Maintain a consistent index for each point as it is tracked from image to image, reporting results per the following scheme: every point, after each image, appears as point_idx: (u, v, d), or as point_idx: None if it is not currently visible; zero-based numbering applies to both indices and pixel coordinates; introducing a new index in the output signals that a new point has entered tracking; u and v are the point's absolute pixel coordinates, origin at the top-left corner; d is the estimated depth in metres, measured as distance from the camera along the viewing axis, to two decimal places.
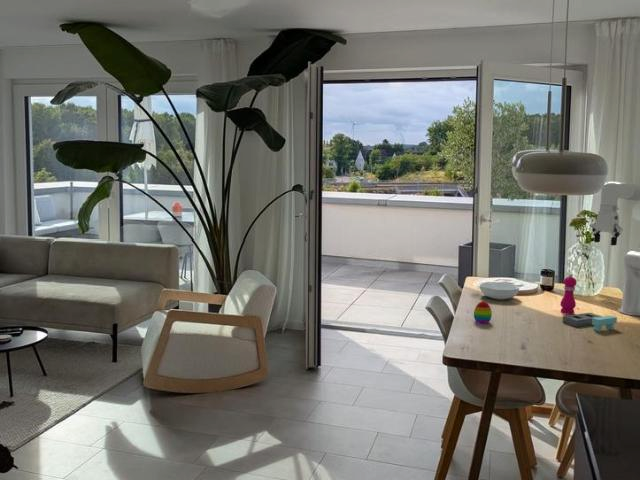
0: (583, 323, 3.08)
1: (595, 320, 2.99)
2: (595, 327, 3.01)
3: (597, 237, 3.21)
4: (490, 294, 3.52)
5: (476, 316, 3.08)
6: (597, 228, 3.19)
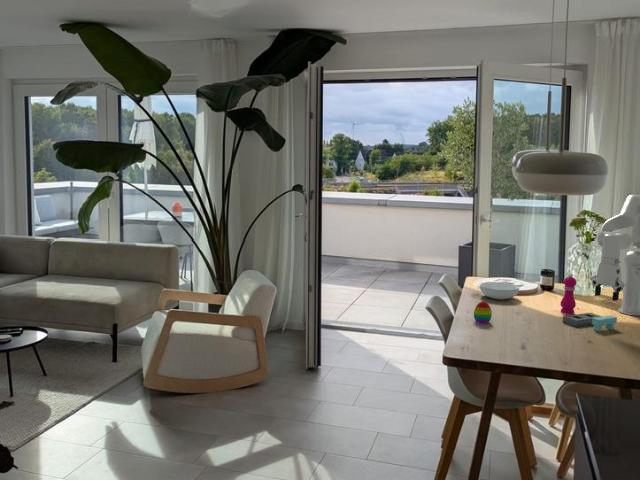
0: (583, 323, 3.08)
1: (595, 320, 2.99)
2: (595, 327, 3.01)
3: (598, 290, 3.04)
4: (490, 294, 3.52)
5: (476, 316, 3.08)
6: (598, 281, 3.01)
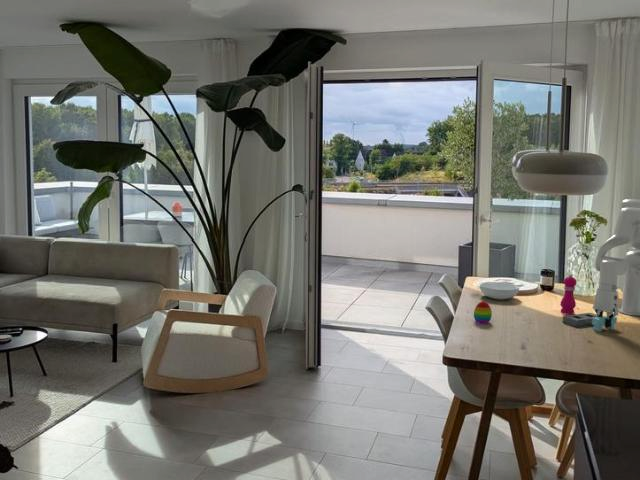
0: (583, 323, 3.08)
1: (595, 320, 2.99)
2: (595, 327, 3.01)
3: None
4: (490, 294, 3.52)
5: (476, 316, 3.08)
6: (596, 306, 3.03)
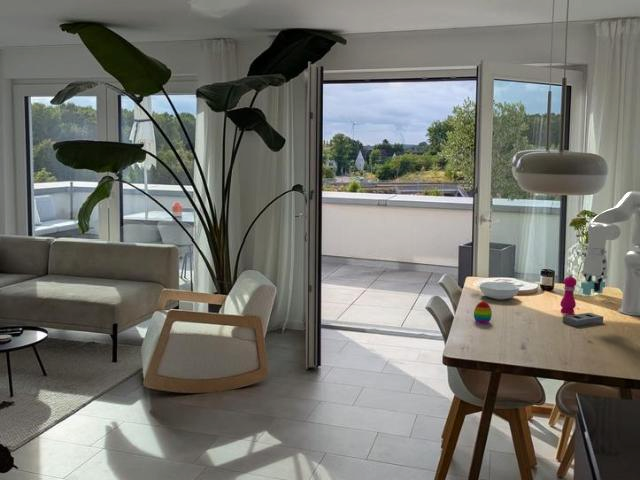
0: (583, 323, 3.08)
1: (584, 284, 3.04)
2: (585, 291, 3.05)
3: None
4: (490, 294, 3.52)
5: (476, 316, 3.08)
6: (585, 271, 3.08)
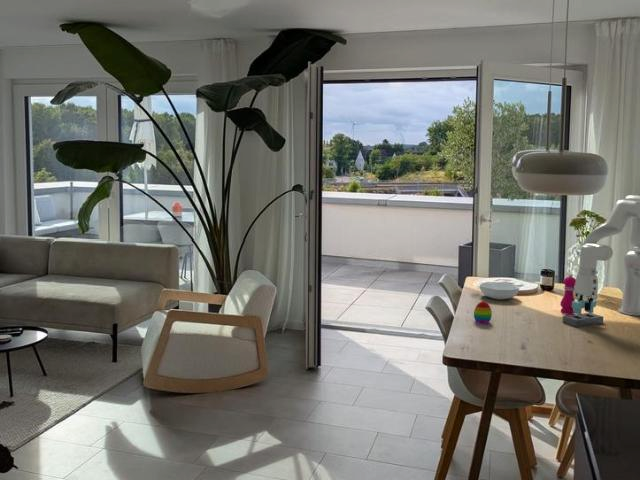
0: (583, 323, 3.08)
1: (575, 303, 3.09)
2: (575, 310, 3.10)
3: None
4: (490, 294, 3.52)
5: (476, 316, 3.08)
6: (576, 291, 3.13)
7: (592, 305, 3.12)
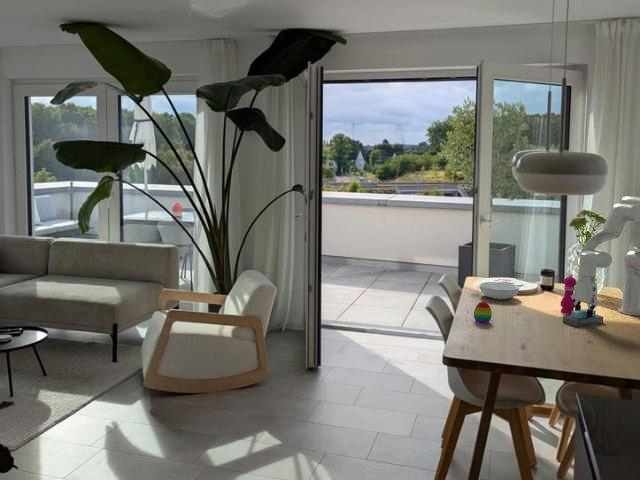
0: (583, 323, 3.08)
1: (574, 313, 3.10)
2: None
3: (577, 309, 3.15)
4: (490, 294, 3.52)
5: (476, 316, 3.08)
6: (575, 298, 3.14)
7: None
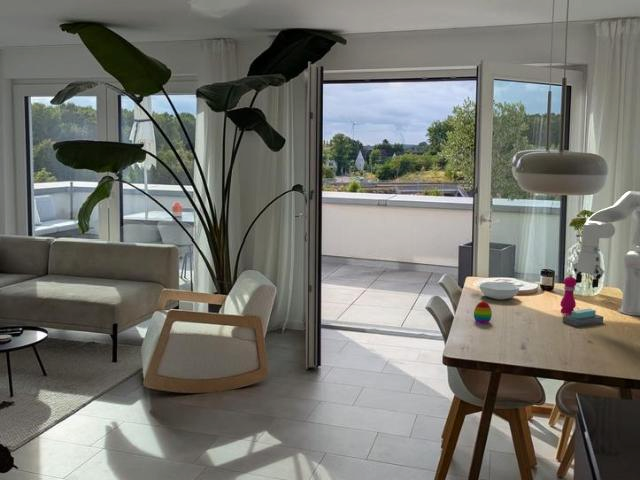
0: (583, 323, 3.08)
1: (574, 313, 3.10)
2: None
3: (579, 278, 3.14)
4: (490, 294, 3.52)
5: (476, 316, 3.08)
6: (578, 269, 3.12)
7: (591, 314, 3.13)
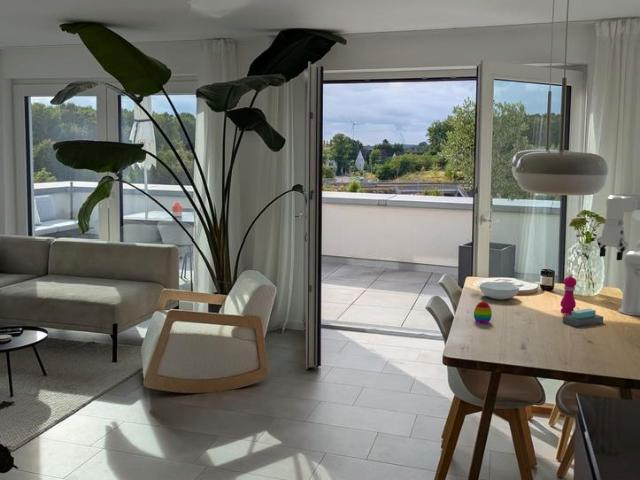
0: (583, 323, 3.08)
1: (574, 313, 3.10)
2: None
3: (602, 251, 3.19)
4: (490, 294, 3.52)
5: (476, 316, 3.08)
6: (602, 242, 3.16)
7: (591, 314, 3.13)
